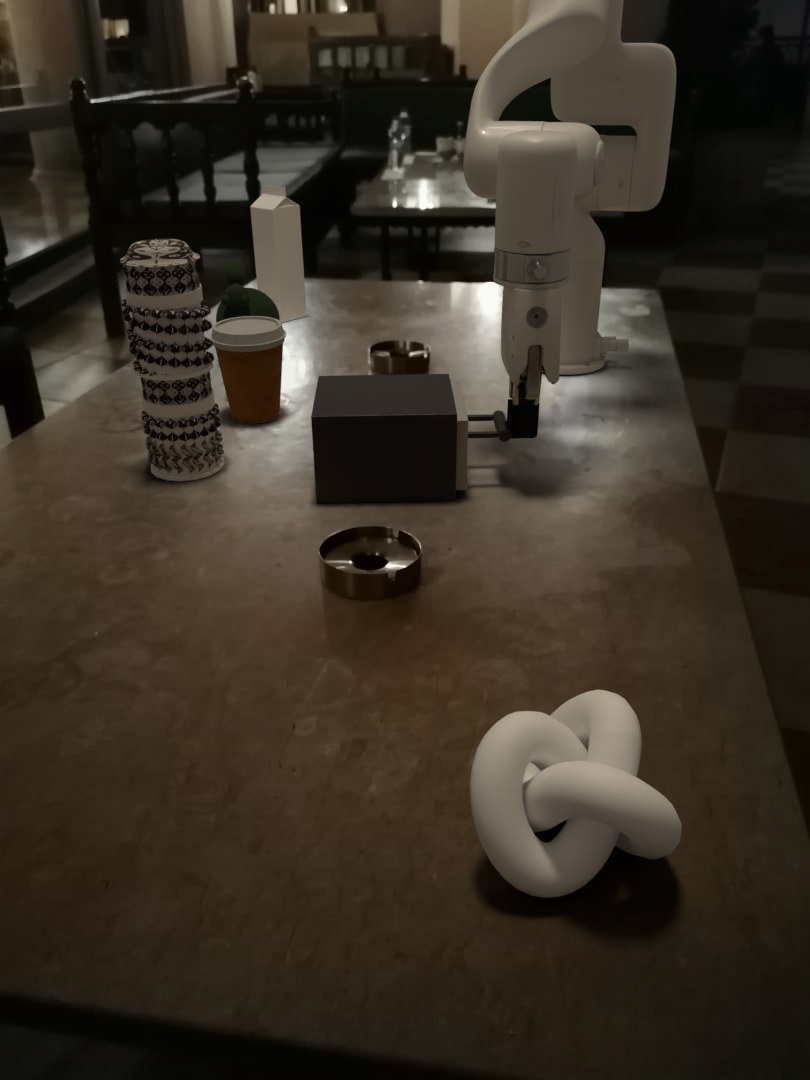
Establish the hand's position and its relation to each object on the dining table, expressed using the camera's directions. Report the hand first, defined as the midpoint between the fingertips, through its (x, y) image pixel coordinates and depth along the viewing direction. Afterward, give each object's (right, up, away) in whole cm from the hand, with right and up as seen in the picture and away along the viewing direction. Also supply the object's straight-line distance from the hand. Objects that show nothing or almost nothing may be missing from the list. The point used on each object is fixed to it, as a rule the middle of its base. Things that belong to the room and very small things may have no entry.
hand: (521, 435), depth 100 cm
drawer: (-11, -4, +2) cm, 11 cm away
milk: (-35, +28, +62) cm, 77 cm away
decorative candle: (-38, -3, +5) cm, 39 cm away
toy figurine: (-36, +13, +35) cm, 52 cm away
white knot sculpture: (-4, -30, -45) cm, 54 cm away
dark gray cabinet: (-15, -4, +2) cm, 16 cm away
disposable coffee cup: (-33, +5, +19) cm, 38 cm away
